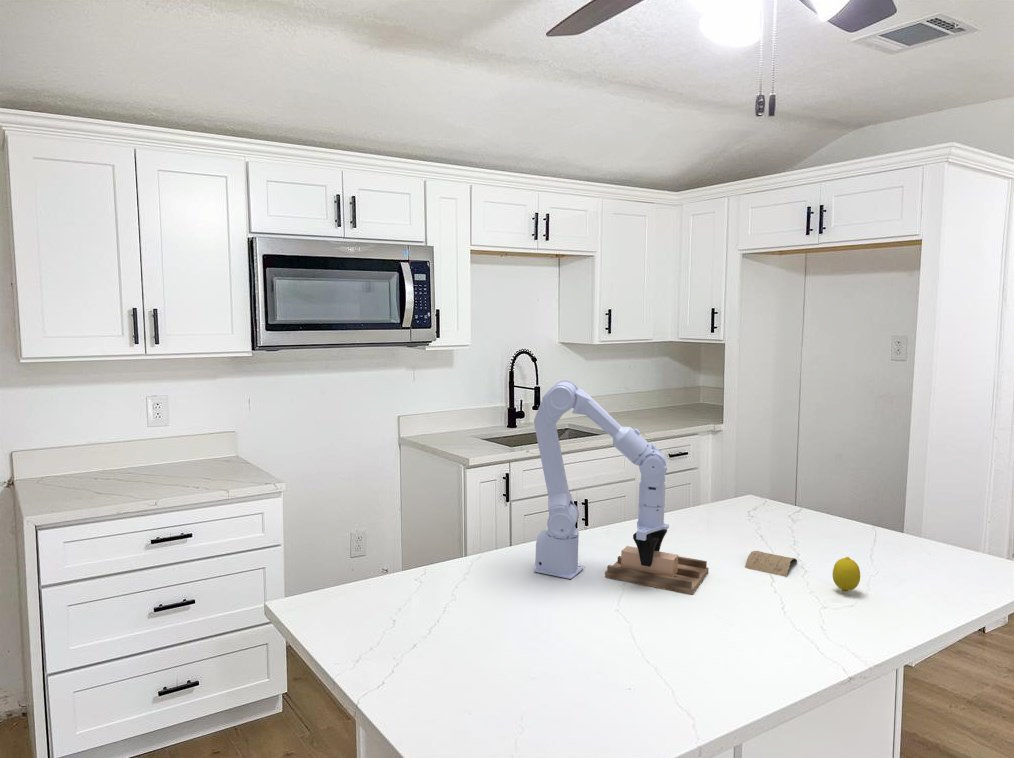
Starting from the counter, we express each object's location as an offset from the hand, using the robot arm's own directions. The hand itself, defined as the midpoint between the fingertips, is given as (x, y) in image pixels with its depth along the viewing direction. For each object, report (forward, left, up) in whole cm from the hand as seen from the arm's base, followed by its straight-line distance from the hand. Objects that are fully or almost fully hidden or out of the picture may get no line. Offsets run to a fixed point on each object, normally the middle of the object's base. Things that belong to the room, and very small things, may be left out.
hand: (649, 562), depth 170 cm
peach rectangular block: (0, 0, -2) cm, 2 cm away
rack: (+1, +4, -4) cm, 5 cm away
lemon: (+40, +15, -4) cm, 43 cm away
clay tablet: (+23, +25, -5) cm, 34 cm away
